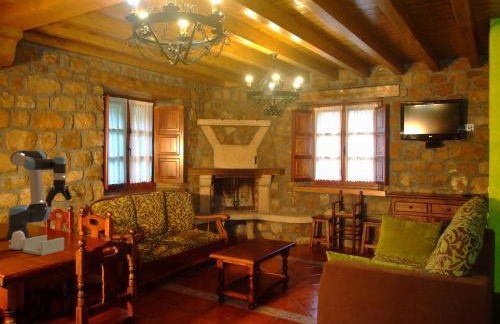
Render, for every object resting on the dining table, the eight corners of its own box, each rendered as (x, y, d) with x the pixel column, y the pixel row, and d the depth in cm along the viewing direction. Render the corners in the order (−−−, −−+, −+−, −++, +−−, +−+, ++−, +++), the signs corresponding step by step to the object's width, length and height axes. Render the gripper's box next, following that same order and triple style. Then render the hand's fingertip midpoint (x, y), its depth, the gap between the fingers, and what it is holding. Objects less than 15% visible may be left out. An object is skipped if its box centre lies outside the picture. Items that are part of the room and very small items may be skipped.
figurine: (29, 247, 268) (29, 229, 268) (23, 251, 259) (23, 232, 258) (12, 247, 267) (13, 229, 266) (6, 251, 257) (6, 232, 257)
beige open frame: (22, 252, 256) (23, 239, 256) (45, 246, 271) (45, 235, 271) (42, 255, 249) (42, 242, 249) (64, 250, 265) (64, 237, 264)
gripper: (48, 180, 264) (47, 213, 264) (77, 178, 287) (76, 208, 287) (39, 180, 266) (39, 212, 267) (69, 178, 290) (68, 208, 290)
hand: (58, 210), depth 277 cm, fingers open, 13 cm apart
